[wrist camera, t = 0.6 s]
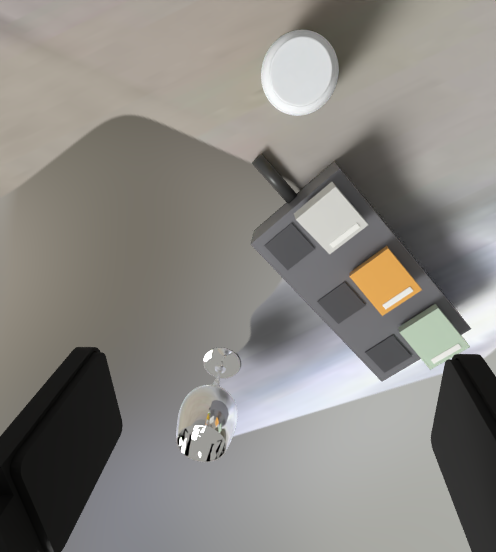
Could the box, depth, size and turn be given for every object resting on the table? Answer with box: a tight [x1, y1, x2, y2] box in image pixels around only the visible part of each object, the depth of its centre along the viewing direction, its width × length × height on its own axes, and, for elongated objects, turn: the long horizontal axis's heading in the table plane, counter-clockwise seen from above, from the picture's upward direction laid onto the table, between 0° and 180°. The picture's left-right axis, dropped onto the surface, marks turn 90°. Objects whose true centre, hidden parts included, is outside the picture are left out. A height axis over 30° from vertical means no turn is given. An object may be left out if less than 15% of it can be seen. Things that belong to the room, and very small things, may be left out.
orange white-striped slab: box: [349, 246, 422, 316], centre depth 35 cm, size 4×5×1 cm
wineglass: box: [176, 347, 241, 462], centre depth 41 cm, size 6×6×12 cm
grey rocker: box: [294, 182, 368, 254], centre depth 33 cm, size 4×5×1 cm
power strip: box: [251, 154, 471, 381], centre depth 38 cm, size 10×25×4 cm, turn 43°
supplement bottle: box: [261, 30, 339, 116], centre depth 29 cm, size 5×5×10 cm
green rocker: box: [398, 304, 470, 370], centre depth 37 cm, size 4×5×1 cm
